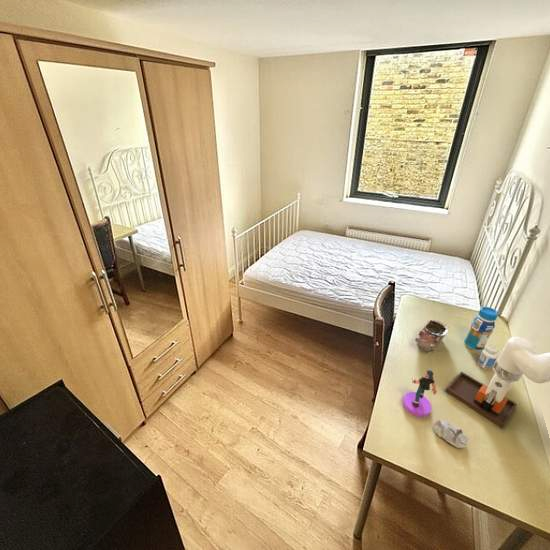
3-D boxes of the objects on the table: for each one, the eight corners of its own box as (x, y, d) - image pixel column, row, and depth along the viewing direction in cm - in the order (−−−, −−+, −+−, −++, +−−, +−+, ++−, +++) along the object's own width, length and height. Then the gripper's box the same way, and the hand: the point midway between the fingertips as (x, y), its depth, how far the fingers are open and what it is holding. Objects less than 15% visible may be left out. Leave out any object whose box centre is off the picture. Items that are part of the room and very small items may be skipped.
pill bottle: (492, 365, 127) (501, 348, 122) (490, 372, 123) (499, 355, 118) (478, 358, 130) (486, 342, 125) (475, 365, 126) (483, 348, 122)
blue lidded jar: (462, 337, 142) (477, 303, 133) (482, 342, 139) (499, 308, 130) (464, 347, 136) (479, 313, 126) (485, 353, 133) (502, 318, 123)
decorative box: (455, 345, 137) (462, 329, 132) (434, 364, 126) (441, 347, 122) (428, 330, 146) (433, 315, 141) (406, 347, 135) (411, 331, 131)
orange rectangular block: (502, 409, 107) (508, 398, 104) (497, 416, 104) (504, 405, 102) (478, 394, 112) (483, 384, 109) (473, 400, 110) (478, 390, 107)
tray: (515, 407, 108) (517, 404, 107) (502, 428, 101) (504, 425, 100) (459, 374, 122) (461, 371, 121) (444, 391, 114) (446, 388, 113)
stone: (467, 437, 98) (470, 432, 97) (462, 454, 93) (465, 449, 92) (437, 419, 103) (439, 415, 102) (431, 434, 99) (433, 429, 97)
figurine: (423, 395, 112) (437, 361, 103) (434, 417, 104) (450, 383, 95) (399, 394, 112) (410, 361, 104) (408, 416, 104) (421, 382, 95)
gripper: (512, 389, 92) (490, 425, 101) (528, 365, 101) (507, 399, 110) (486, 375, 97) (467, 410, 106) (503, 352, 106) (485, 386, 115)
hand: (487, 404), depth 108 cm, fingers closed on orange rectangular block, 4 cm apart
